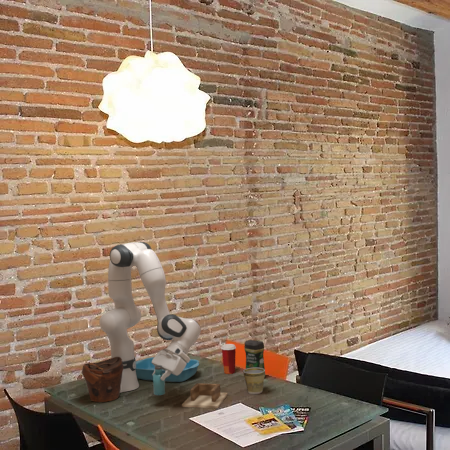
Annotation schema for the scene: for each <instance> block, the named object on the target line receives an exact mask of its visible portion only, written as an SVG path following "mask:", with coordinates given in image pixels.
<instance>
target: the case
mask: <svg viewBox="0 0 450 450" xmlns="http://www.w3.org/2000/svg"><path fill="white" fill-rule="evenodd" d="M122 372H123V363H122V359H121V358H120V357H114V358H112V359H111V358H109V359H105V360H102V361H99V362H89V363H88V362H87V363H84V364H83V365H82V370H81V375H82V376H83V378H84V380H85V383H86V387H87V391H88V394H89V399H90V401H91V402H93V403H94V402H95V403H104V402H110V401H114V400H117V399H118V398H119V397H120V387H121V379H122Z"/></svg>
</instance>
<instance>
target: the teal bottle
mask: <svg viewBox="0 0 450 450" xmlns="http://www.w3.org/2000/svg"><path fill="white" fill-rule="evenodd" d="M163 374H164V373H162V366H161V365H157V366H155V373H154V374H153V381H152V382H153V383H152V388H153V390H152V391H153V395H155V396H162V395H165V394H166V382H165V380H164V381H162V380H161V379H160V376H161V375H163Z"/></svg>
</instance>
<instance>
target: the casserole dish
mask: <svg viewBox="0 0 450 450" xmlns="http://www.w3.org/2000/svg"><path fill="white" fill-rule="evenodd" d="M154 357H155V356H153V357H146V358H143V359H139V360H136V376H137V380H138V379H139V380H142V381H144V380H145V381H152V382H153V375H152V374H153V373H154V370H155V366H154V365H153V364H152V360H153V358H154ZM199 366H200V361H199V360H198V359H195V358H193V359H192V358H190V361H189V362H188V363H187V364H186V366H185V368H184V369H183V371H182V372H181V373H180V374H179V375H178V376H176V375H174V374H172V373H171V374H170V375H169V376H168V377H166V378H165V383H167V382H168V383H169V382H170V383H181V382H185V381H186V380H187V381H188V380H189V379H190V378H192V377H193V376H195V375H196V373H197V372H198V367H199ZM162 373H165V370H162Z"/></svg>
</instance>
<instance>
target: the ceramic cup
mask: <svg viewBox="0 0 450 450" xmlns="http://www.w3.org/2000/svg"><path fill="white" fill-rule="evenodd" d="M242 372H243V373H242V374H243V376H244V377H243V378H244V380H245V384H246V385H245V386H246V391H247V392H248V394H249V395H259V394H261V393H263V391H264V380H265V377H266V368H265V369H263V368H247V369H246V368H245V369H243V371H242ZM264 376H265V377H264Z"/></svg>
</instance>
